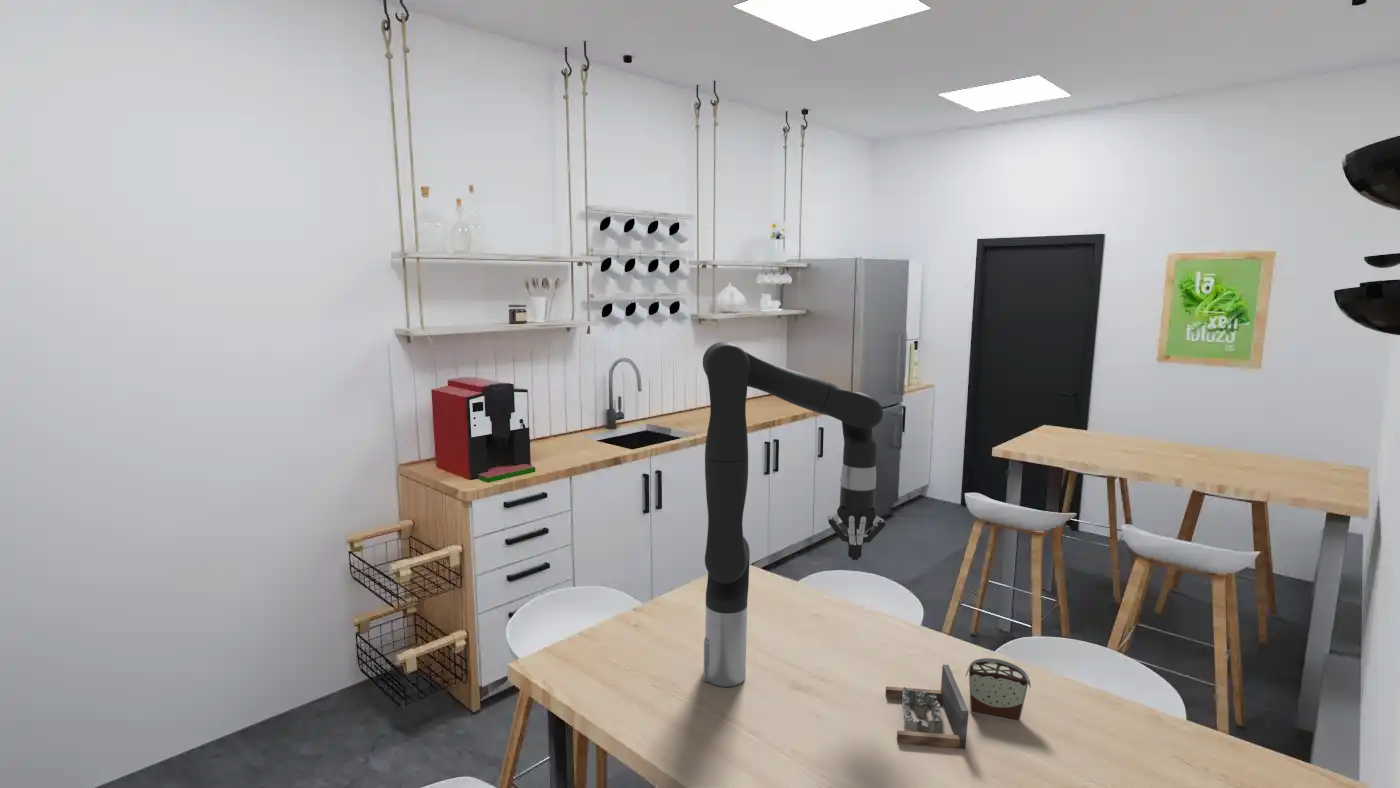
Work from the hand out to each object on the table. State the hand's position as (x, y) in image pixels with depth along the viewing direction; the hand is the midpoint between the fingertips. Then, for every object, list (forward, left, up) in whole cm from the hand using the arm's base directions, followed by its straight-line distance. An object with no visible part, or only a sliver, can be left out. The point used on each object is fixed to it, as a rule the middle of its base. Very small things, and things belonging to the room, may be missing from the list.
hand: (854, 558), depth 159 cm
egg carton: (+13, -16, -28) cm, 34 cm away
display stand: (+13, -17, -27) cm, 34 cm away
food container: (+29, -11, -27) cm, 41 cm away
